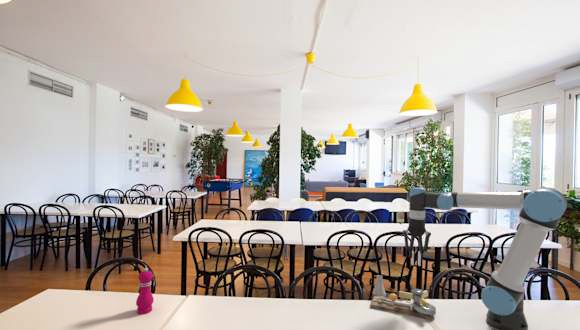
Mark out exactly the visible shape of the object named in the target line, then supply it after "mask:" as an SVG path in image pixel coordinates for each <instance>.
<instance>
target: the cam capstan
mask: <svg viewBox="0 0 580 330" xmlns="http://www.w3.org/2000/svg"><path fill="white" fill-rule="evenodd" d="M427 297H429V291H428V290H426V289H425V290H422V289H420V288H412V289H411V292H407V291H402V290H399V291H398V298H402V299H408V300H411V299H412V302H413V310H414V311H415V312H416V313H418V314H421V315H424V316H431V317H433V316H435V315H437V308H436V306H434V305H433V304H431V303H430V302H429V301H428V300H426V299H425V298H427Z"/></svg>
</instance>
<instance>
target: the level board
mask: <svg viewBox="0 0 580 330" xmlns="http://www.w3.org/2000/svg"><path fill="white" fill-rule="evenodd" d="M395 301H400V302H402V301H406V303H411V301H408V300H404V299H398V298H397V299H396V300H395ZM370 308H372V309H378V310H382V311H386V312H387V311H388V312H392V313H397V314H401V315H404V316H405V315H406V316H412V317H415V318H421V319H424V320H430V321H432V316H424V315H421V314H418V313H416V312H415V311H414V310H413V301H412V310H410V307H407V306H402V305H397V304H394V303H392V300H390V298H389V296H387V297H386V296H385V297H383V296H378V295H374V294H373V297H372V300H371V303H370Z"/></svg>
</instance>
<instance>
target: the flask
mask: <svg viewBox="0 0 580 330" xmlns="http://www.w3.org/2000/svg"><path fill="white" fill-rule="evenodd" d="M371 292H372V295H373V296H374V295H378V296H383V297H386V296H387V293H386V290H385V286H384V284H383V275H382V274H381V275H379V274H377V275H376V283H375V285H374V287H373V290H372V291H371Z"/></svg>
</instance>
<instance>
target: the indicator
mask: <svg viewBox="0 0 580 330" xmlns="http://www.w3.org/2000/svg"><path fill="white" fill-rule="evenodd" d="M388 297H389V298H390V300H392V303H394V304H397V305H402V306H407V307H410V310H412V302H413V300H412V299H410V302H411V303H406V302H400V301H395V300H396V299H398V298H397V294H396V293H390V294H389V295H388Z"/></svg>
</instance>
